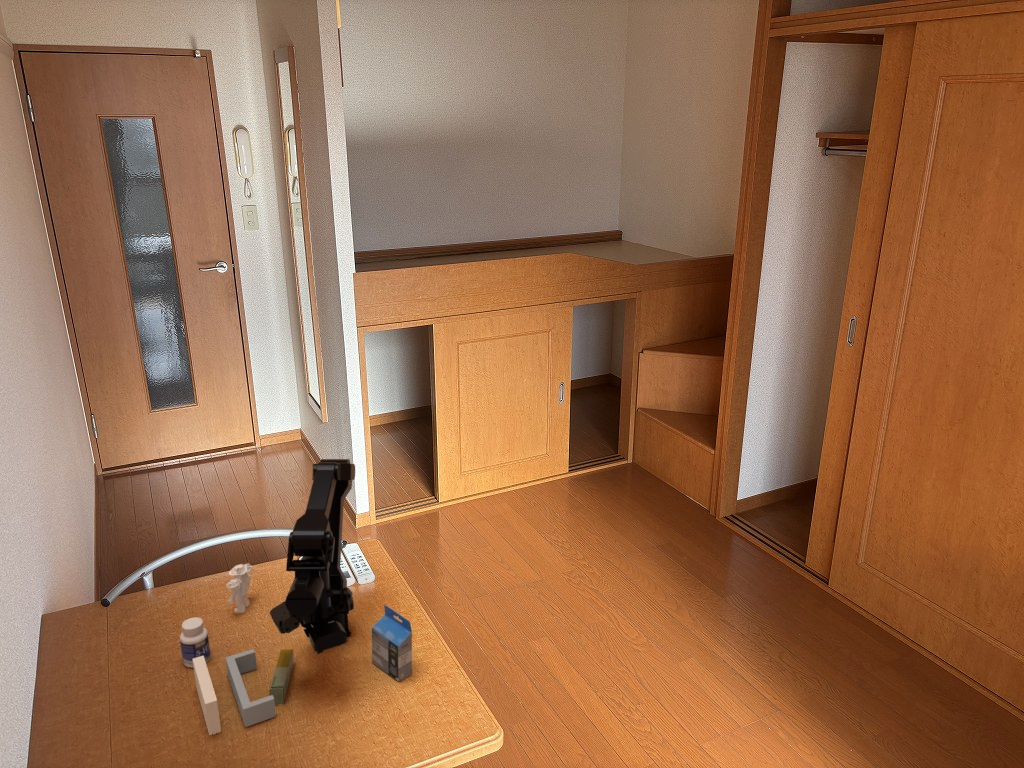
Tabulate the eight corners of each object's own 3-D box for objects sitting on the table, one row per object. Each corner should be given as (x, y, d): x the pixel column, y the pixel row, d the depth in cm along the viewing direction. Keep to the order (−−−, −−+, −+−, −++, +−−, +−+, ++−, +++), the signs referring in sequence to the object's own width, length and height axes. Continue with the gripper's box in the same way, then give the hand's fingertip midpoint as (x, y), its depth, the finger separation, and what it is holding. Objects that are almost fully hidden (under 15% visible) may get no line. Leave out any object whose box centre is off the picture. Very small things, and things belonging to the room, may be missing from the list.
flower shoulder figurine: (241, 620, 167) (236, 573, 163) (225, 618, 168) (219, 571, 164) (259, 597, 176) (254, 551, 172) (243, 595, 176) (238, 550, 172)
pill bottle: (201, 670, 151) (196, 633, 149) (177, 666, 152) (172, 629, 150) (216, 653, 156) (211, 617, 154) (193, 649, 157) (188, 613, 155)
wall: (207, 685, 147) (203, 655, 145) (221, 731, 136) (217, 700, 134) (196, 688, 146) (192, 658, 144) (209, 735, 135) (205, 704, 133)
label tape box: (371, 662, 154) (368, 611, 151) (386, 653, 157) (384, 603, 153) (398, 683, 149) (396, 630, 145) (414, 673, 152) (412, 621, 148)
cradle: (255, 665, 153) (253, 648, 152) (275, 716, 139) (274, 698, 138) (227, 674, 150) (225, 657, 149) (245, 727, 137) (243, 709, 136)
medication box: (284, 705, 143) (283, 688, 141) (269, 706, 142) (268, 688, 141) (294, 664, 154) (293, 647, 153) (280, 664, 154) (279, 648, 153)
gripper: (260, 572, 149) (267, 639, 154) (285, 623, 134) (291, 695, 139) (315, 558, 154) (320, 622, 159) (345, 605, 139) (350, 674, 144)
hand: (319, 652), depth 150 cm, fingers closed
